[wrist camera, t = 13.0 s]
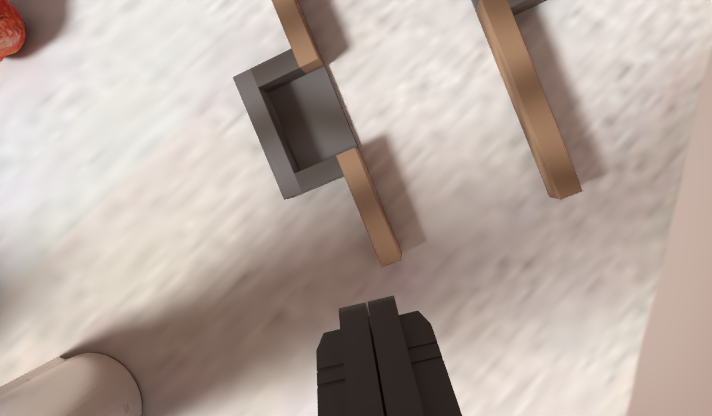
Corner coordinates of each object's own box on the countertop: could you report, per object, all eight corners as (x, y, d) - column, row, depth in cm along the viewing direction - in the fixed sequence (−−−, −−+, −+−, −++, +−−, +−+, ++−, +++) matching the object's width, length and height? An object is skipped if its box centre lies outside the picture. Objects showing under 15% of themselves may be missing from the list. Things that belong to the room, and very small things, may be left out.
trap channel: (637, 163, 31) (670, 162, 27) (328, 281, 35) (317, 295, 31) (479, -243, 30) (489, -306, 26) (180, -73, 34) (149, -105, 30)
